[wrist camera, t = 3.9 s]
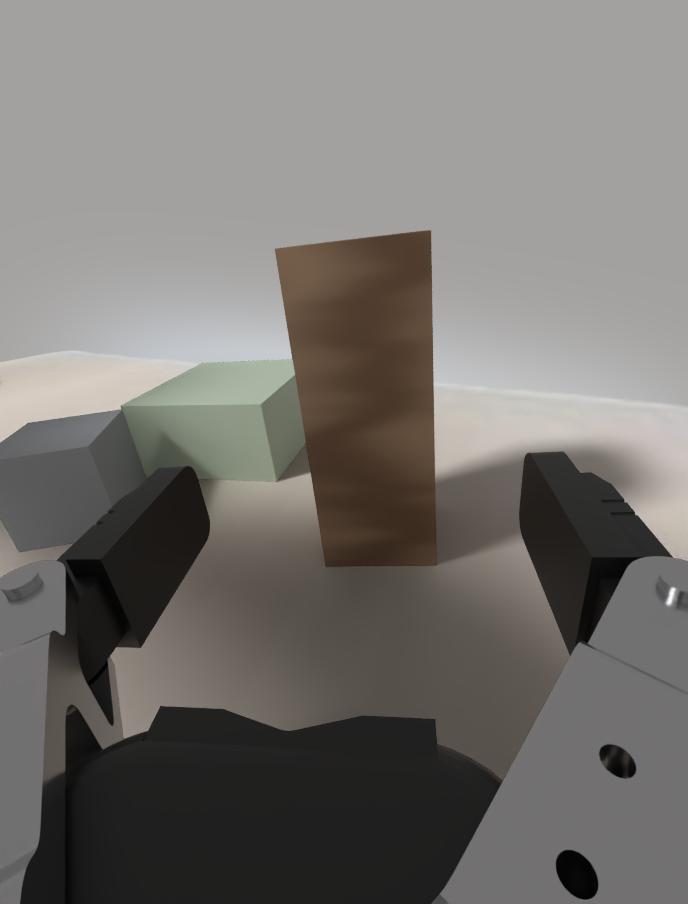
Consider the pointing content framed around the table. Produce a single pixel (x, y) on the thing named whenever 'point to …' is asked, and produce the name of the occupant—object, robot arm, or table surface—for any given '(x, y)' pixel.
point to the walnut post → (366, 392)
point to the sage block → (221, 421)
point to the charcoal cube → (65, 477)
